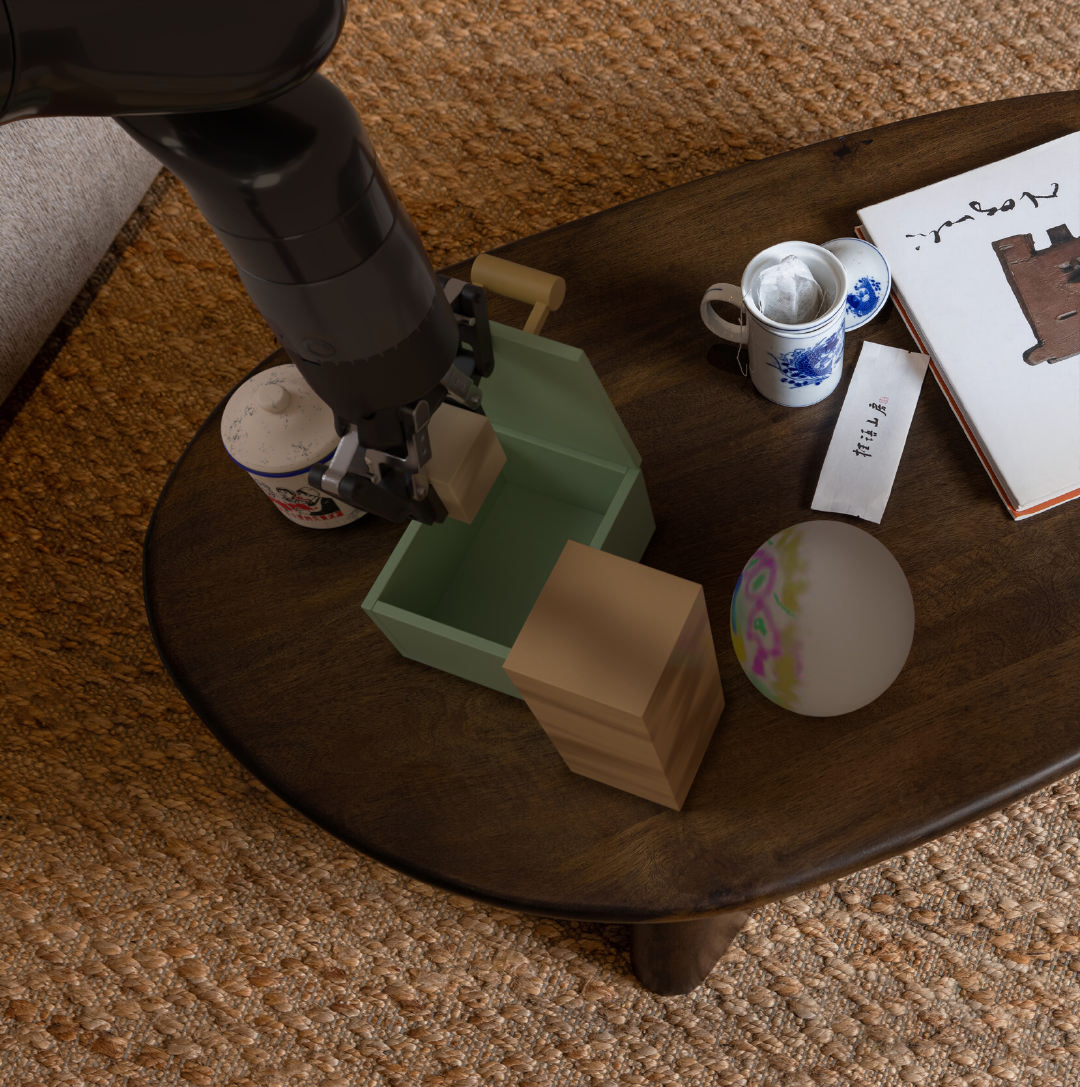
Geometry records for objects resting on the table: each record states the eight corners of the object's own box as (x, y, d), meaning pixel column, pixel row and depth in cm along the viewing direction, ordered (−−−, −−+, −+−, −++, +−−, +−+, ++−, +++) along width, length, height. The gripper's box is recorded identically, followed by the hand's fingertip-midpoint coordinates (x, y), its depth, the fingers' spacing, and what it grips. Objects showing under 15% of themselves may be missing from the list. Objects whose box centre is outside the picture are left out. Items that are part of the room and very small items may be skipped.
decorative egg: (738, 573, 86) (726, 470, 73) (905, 575, 87) (923, 473, 73) (731, 735, 81) (716, 656, 67) (909, 737, 81) (929, 658, 68)
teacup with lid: (247, 511, 88) (172, 427, 77) (312, 414, 92) (249, 322, 81) (390, 562, 86) (333, 484, 76) (450, 462, 90) (403, 374, 80)
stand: (680, 812, 78) (642, 717, 61) (570, 771, 80) (501, 666, 62) (725, 704, 82) (702, 584, 64) (620, 666, 83) (568, 538, 65)
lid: (577, 362, 64) (616, 278, 65) (371, 296, 65) (413, 215, 67) (638, 469, 80) (668, 400, 81) (470, 414, 81) (503, 347, 83)
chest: (565, 715, 81) (538, 671, 73) (402, 656, 83) (359, 606, 75) (656, 527, 88) (641, 468, 80) (504, 476, 90) (474, 412, 82)
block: (471, 524, 67) (448, 485, 63) (398, 499, 67) (372, 459, 63) (508, 459, 69) (488, 416, 65) (437, 435, 69) (414, 392, 65)
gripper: (356, 153, 56) (453, 362, 71) (184, 388, 50) (330, 562, 65) (498, 196, 55) (565, 399, 70) (340, 441, 49) (451, 605, 64)
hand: (452, 476), depth 68 cm, fingers closed on block, 4 cm apart
